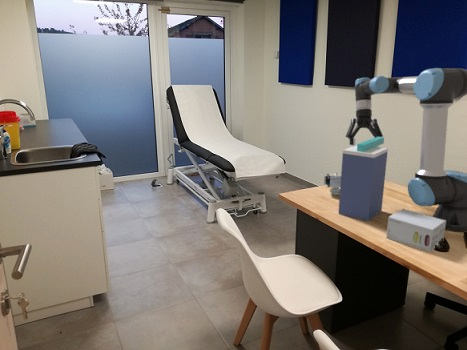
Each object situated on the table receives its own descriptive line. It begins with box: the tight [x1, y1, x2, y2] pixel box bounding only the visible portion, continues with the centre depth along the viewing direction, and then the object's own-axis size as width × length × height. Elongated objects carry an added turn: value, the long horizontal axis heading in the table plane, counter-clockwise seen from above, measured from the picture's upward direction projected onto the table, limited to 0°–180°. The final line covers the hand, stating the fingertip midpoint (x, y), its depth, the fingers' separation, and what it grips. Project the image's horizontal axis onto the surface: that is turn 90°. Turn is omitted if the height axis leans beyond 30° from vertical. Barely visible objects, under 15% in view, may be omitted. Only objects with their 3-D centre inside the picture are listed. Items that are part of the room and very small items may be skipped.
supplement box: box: [385, 208, 446, 253], centre depth 150 cm, size 17×13×9 cm
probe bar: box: [356, 136, 385, 152], centre depth 176 cm, size 24×3×3 cm, turn 140°
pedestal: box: [338, 144, 389, 222], centre depth 176 cm, size 16×14×30 cm
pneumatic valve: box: [323, 172, 341, 196], centre depth 203 cm, size 6×12×12 cm, turn 88°
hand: (364, 151), depth 195 cm, fingers open, 13 cm apart
